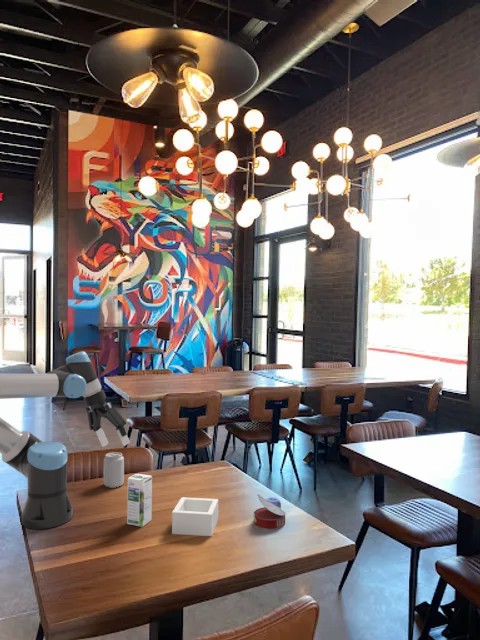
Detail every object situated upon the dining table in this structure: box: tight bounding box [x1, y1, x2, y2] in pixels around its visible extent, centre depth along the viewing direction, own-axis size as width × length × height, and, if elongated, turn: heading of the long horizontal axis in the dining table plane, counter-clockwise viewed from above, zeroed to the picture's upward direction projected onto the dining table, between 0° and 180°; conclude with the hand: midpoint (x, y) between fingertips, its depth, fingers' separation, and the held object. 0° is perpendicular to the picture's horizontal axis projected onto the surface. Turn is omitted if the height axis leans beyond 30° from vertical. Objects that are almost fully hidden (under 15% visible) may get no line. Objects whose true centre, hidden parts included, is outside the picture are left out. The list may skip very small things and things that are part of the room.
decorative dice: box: [266, 497, 282, 510], centre depth 164 cm, size 4×4×4 cm
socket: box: [171, 496, 219, 537], centre depth 151 cm, size 12×12×6 cm
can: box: [103, 451, 125, 489], centre depth 187 cm, size 8×8×12 cm
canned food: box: [253, 493, 286, 530], centre depth 155 cm, size 11×10×10 cm
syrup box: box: [126, 473, 153, 528], centre depth 154 cm, size 6×6×14 cm
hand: (116, 444), depth 181 cm, fingers open, 13 cm apart
